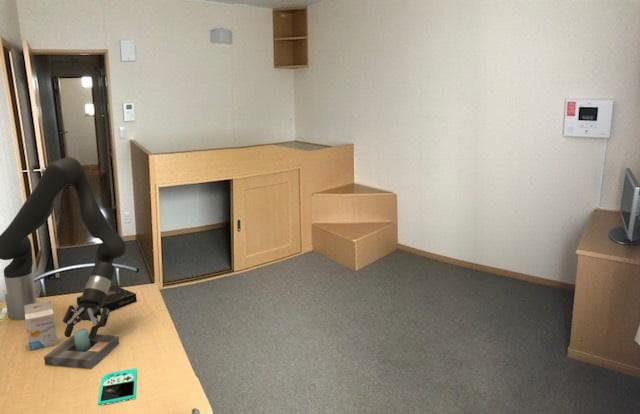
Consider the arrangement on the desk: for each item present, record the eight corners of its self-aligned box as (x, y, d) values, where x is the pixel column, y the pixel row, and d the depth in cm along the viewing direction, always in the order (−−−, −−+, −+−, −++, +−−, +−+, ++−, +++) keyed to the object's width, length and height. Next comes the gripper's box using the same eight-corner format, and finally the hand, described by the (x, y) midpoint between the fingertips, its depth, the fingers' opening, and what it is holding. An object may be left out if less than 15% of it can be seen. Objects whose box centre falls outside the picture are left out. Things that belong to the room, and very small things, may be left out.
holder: (45, 364, 153) (43, 355, 152) (77, 340, 168) (76, 332, 168) (90, 368, 151) (89, 359, 150) (119, 343, 166) (118, 335, 165)
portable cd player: (113, 293, 211) (113, 284, 210) (136, 302, 201) (136, 293, 200) (77, 306, 198) (76, 297, 197) (99, 316, 188) (98, 307, 187)
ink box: (29, 351, 162) (23, 310, 158) (28, 345, 166) (22, 305, 162) (57, 344, 166) (52, 304, 163) (56, 338, 170) (51, 299, 167)
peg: (73, 356, 158) (70, 334, 156) (82, 350, 162) (79, 328, 160) (85, 357, 157) (83, 335, 155) (93, 351, 161) (91, 329, 160)
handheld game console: (137, 371, 150) (137, 367, 150) (136, 400, 135) (136, 396, 135) (102, 377, 147) (102, 373, 147) (97, 408, 132) (97, 403, 132)
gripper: (71, 286, 163) (52, 332, 155) (109, 288, 161) (92, 335, 153) (82, 294, 169) (65, 339, 161) (120, 296, 167) (104, 342, 159)
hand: (78, 337), depth 157 cm, fingers open, 8 cm apart
